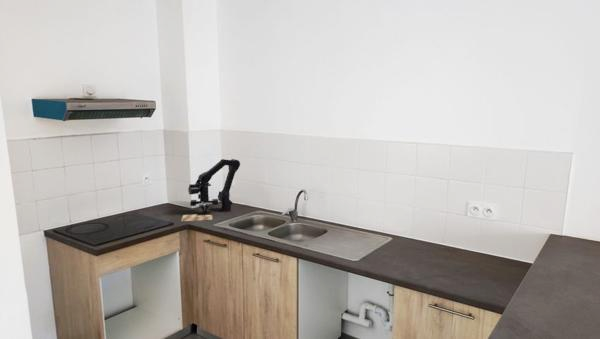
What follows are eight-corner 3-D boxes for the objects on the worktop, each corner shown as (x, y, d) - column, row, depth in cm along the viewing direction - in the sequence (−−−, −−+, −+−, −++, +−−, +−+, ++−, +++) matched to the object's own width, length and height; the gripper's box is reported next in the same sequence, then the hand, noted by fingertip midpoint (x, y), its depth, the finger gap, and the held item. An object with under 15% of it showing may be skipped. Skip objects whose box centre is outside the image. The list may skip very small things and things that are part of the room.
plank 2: (212, 215, 291) (211, 213, 291) (212, 217, 284) (211, 216, 284) (197, 216, 289) (197, 214, 289) (197, 218, 282) (197, 216, 282)
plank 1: (197, 215, 289) (197, 214, 289) (197, 218, 282) (196, 216, 282) (183, 216, 287) (183, 215, 287) (182, 219, 280) (182, 217, 280)
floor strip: (212, 217, 284) (212, 216, 284) (212, 221, 276) (212, 219, 276) (182, 219, 280) (182, 217, 280) (181, 223, 272) (181, 221, 272)
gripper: (217, 189, 296) (218, 210, 299) (190, 190, 292) (191, 211, 295) (217, 193, 285) (218, 214, 288) (189, 194, 281) (190, 216, 284)
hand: (204, 214), depth 289 cm, fingers closed
